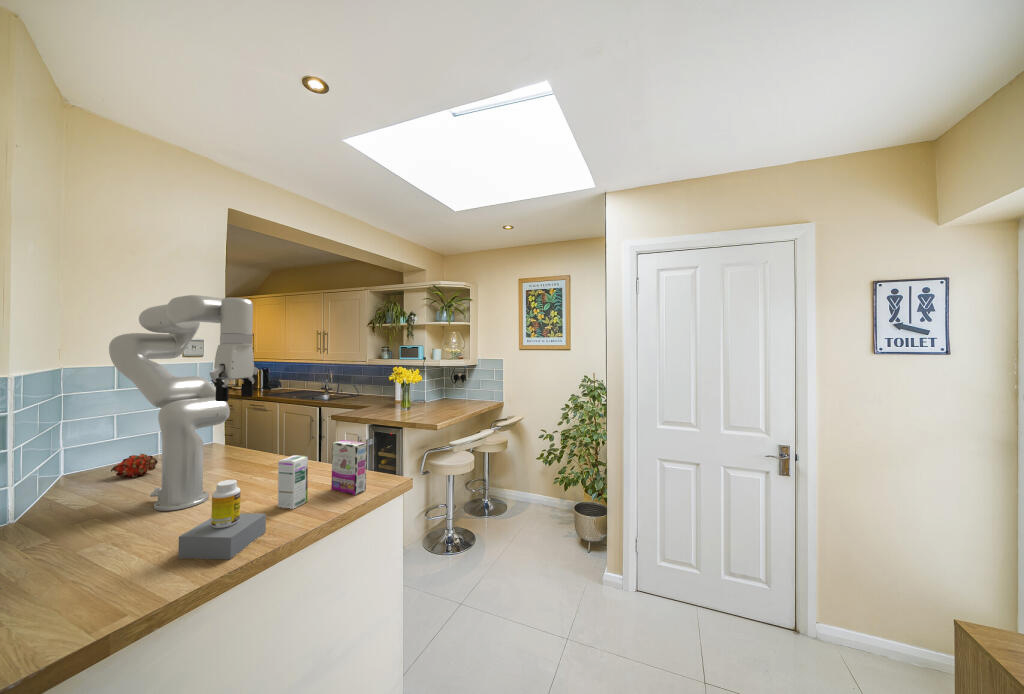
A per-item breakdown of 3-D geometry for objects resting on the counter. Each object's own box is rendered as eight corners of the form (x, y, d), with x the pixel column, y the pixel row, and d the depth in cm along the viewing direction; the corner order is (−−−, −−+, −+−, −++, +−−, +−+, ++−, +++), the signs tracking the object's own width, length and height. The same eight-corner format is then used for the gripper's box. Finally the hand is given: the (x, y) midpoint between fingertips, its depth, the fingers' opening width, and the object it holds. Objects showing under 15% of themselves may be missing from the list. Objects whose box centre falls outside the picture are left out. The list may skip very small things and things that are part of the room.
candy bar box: (366, 490, 125) (367, 442, 125) (355, 495, 121) (356, 446, 121) (342, 485, 130) (343, 439, 130) (330, 490, 125) (331, 442, 125)
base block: (178, 558, 84) (178, 536, 84) (219, 531, 96) (220, 512, 96) (230, 559, 84) (231, 537, 84) (265, 532, 96) (266, 513, 96)
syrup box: (293, 509, 110) (294, 461, 110) (276, 507, 111) (277, 459, 111) (307, 502, 115) (308, 456, 115) (291, 500, 116) (292, 454, 116)
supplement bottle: (237, 526, 89) (237, 484, 89) (208, 531, 87) (209, 488, 87) (242, 516, 94) (243, 477, 94) (214, 520, 92) (215, 480, 92)
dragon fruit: (160, 476, 138) (114, 489, 130) (159, 459, 142) (114, 470, 134) (156, 462, 133) (108, 474, 125) (155, 445, 138) (108, 455, 130)
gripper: (245, 340, 116) (243, 394, 116) (198, 339, 98) (196, 403, 98) (268, 341, 116) (267, 395, 116) (226, 340, 98) (224, 403, 98)
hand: (235, 398), depth 107 cm, fingers open, 9 cm apart
